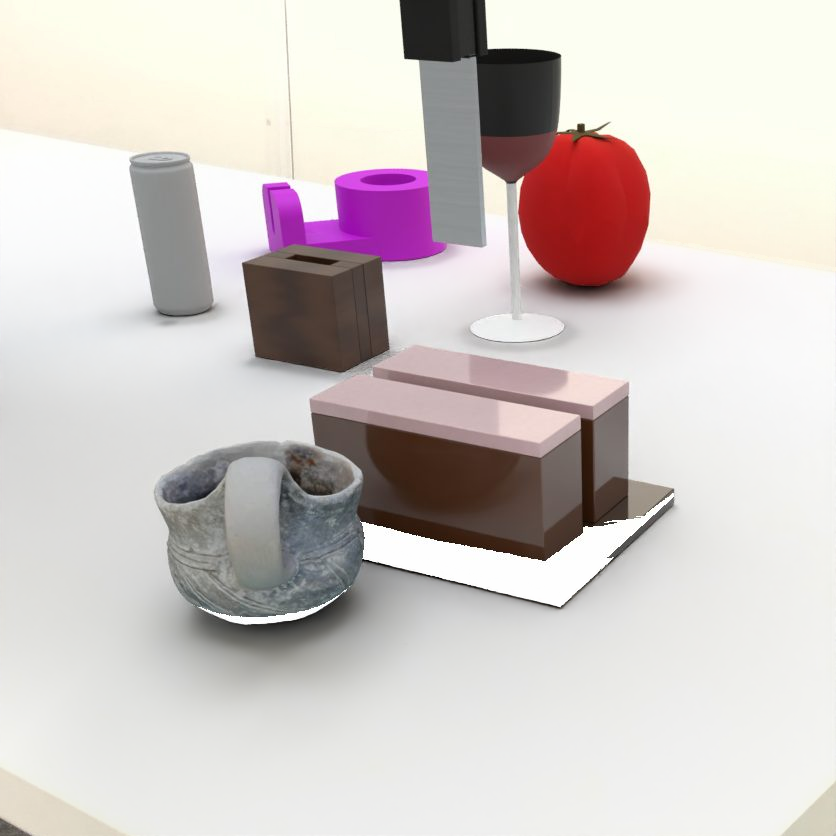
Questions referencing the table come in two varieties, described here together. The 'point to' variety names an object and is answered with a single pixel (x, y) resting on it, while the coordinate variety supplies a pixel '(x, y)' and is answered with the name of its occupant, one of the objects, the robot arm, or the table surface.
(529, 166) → the wineglass
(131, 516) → the table surface
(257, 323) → the knife block
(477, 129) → the knife
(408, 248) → the tape dispenser
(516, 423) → the cake
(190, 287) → the beverage can
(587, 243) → the tomato
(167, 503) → the mug
